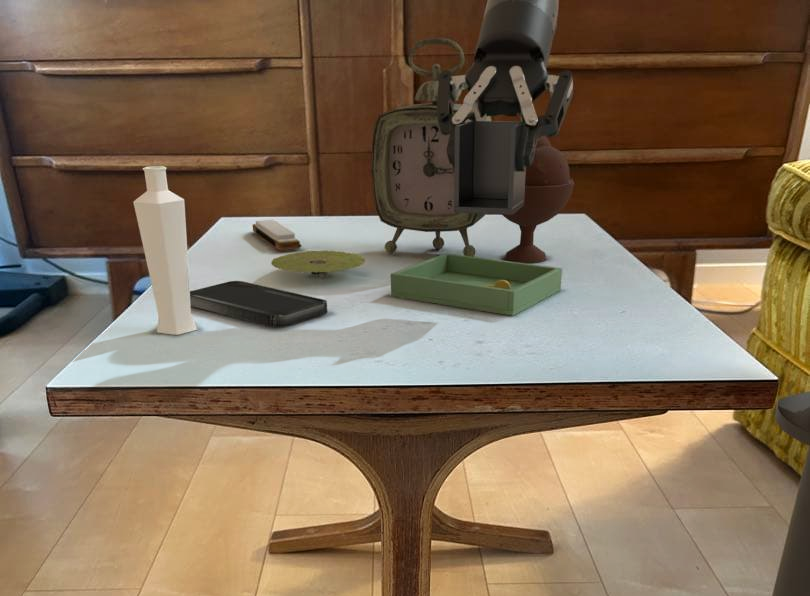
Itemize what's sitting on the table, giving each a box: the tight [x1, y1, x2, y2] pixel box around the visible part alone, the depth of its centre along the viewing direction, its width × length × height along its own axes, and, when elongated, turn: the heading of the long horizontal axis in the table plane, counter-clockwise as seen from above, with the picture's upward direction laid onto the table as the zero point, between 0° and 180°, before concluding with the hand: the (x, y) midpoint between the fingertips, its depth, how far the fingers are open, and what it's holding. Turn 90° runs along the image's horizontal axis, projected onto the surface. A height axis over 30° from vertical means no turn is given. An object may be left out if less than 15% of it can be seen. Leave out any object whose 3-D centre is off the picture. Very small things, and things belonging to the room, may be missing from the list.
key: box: [487, 280, 511, 290], centre depth 96 cm, size 5×2×1 cm
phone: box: [190, 280, 328, 328], centre depth 94 cm, size 8×1×15 cm
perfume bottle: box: [132, 165, 198, 336], centre depth 84 cm, size 5×4×15 cm
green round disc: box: [270, 250, 366, 278], centre depth 106 cm, size 11×11×2 cm
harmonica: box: [252, 219, 302, 251], centre depth 124 cm, size 15×3×2 cm, turn 23°
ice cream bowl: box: [500, 135, 575, 264], centre depth 111 cm, size 11×11×15 cm
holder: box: [454, 120, 526, 215], centre depth 89 cm, size 6×6×8 cm
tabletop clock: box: [370, 37, 493, 257], centre depth 112 cm, size 14×9×25 cm, turn 73°
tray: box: [390, 252, 563, 317], centre depth 99 cm, size 15×12×2 cm
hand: (487, 164), depth 87 cm, fingers closed on holder, 6 cm apart
